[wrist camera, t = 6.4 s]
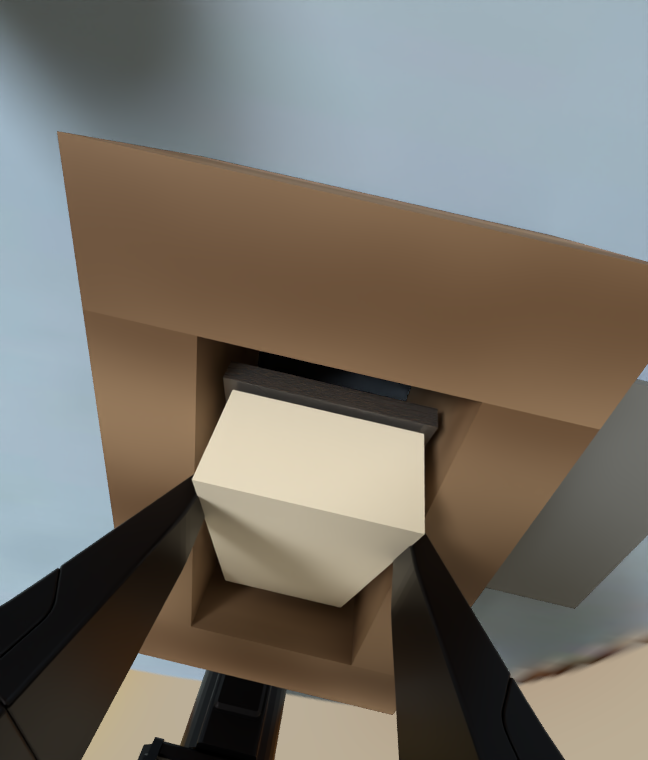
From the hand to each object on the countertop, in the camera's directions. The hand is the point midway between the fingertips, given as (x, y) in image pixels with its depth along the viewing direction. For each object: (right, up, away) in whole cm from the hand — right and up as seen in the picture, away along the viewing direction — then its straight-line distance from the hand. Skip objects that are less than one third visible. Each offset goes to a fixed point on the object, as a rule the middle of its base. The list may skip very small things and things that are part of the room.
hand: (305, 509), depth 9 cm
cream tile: (0, -1, +4) cm, 4 cm away
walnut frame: (0, +1, +7) cm, 7 cm away
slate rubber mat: (+11, -2, +7) cm, 14 cm away
